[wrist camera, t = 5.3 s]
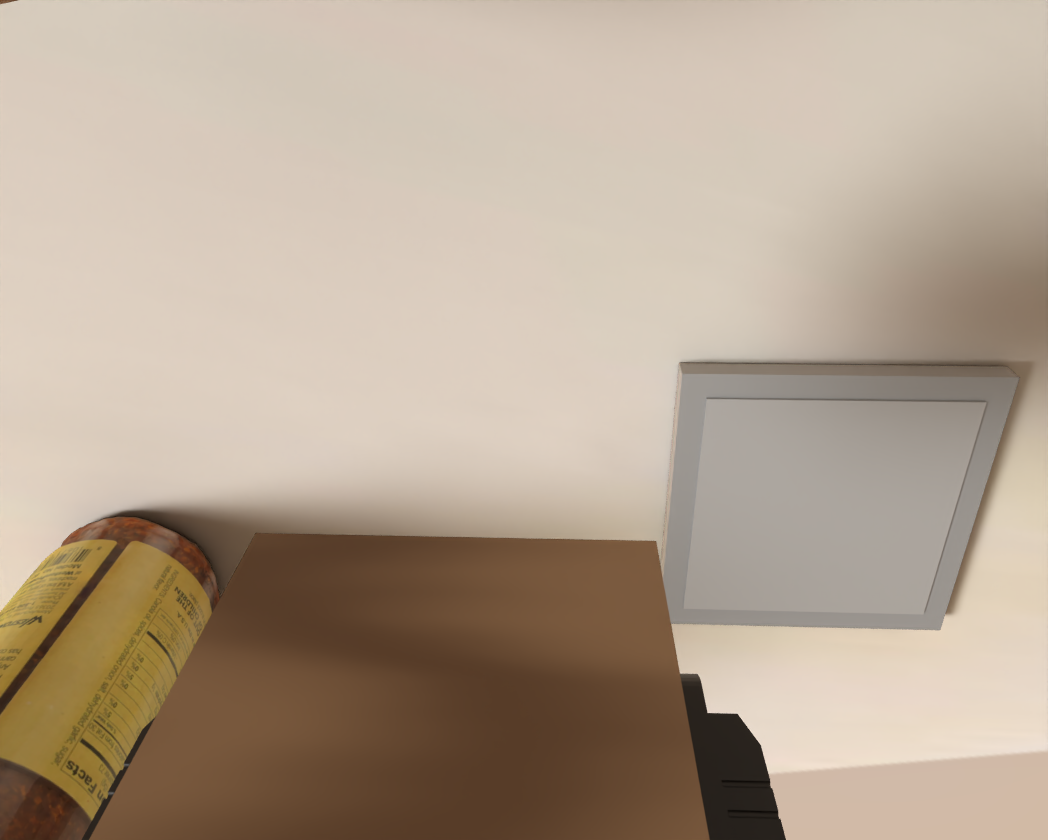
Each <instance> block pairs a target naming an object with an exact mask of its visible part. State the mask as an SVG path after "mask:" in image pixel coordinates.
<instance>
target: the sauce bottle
mask: <svg viewBox="0 0 1048 840" xmlns="http://www.w3.org/2000/svg"><path fill="white" fill-rule="evenodd" d="M218 601H219V592H218V586H217V582H216V577H215V574H214V573H213V570H212V569H211V564H210V562H209V561H208V560H207V559H206V557H205V556H204V554H203V553H202V551H201V550H200V549H199V547H198V546H197V545H196V543H193V542H191V541H189V540H188V539H186V538H185V537H183V536H181V535H179V534H178V533H176V532H174V531H172V530H170V529H167V528H164V527H162V526H161V525H158V524H156V523H153V522H150V521H148V520H145V519H140V518H137V517H126V516H125V517H113V518H105V519H103V520H101V521H97V522H93V523H90V524H87V525H86V526H84V527H82V528H79V529H78V530H76V531H74V532H73V533H71V534H70V535H69V536H68V537H67V538H66V539H65V540H64V541H63V543H62V545H61V547H60V548H59V549H57V550H55V551H54V552H53V553H52V554H51V555H49V556H48V557H47V558H46V559H45V560H44V561H43V562H42V563H41V564H40V565H39V567H38V568H37V569H36V570H35V571H34V572H33V574H32V575H31V576H30V577H29V578H28V579H27V581H26V582H25V583H24V584H23V585H22V587H21V588H20V589H19V590H18V591H17V593H16V594H15V595H14V596H13V597H12V599H11V600H10V601H9V602H8V604H7V605H6V606H5V607H4V608H3V610H2V611H1V612H0V840H82V838H83V836H84V834H85V832H86V831H87V829H88V827H89V825H90V823H91V821H92V820H93V818H94V816H95V814H96V812H97V811H98V809H99V807H100V805H101V803H102V802H103V800H104V799H107V797H108V791H109V789H110V787H111V785H112V783H113V782H114V780H115V778H116V776H117V774H118V773H119V771H120V770H123V768H124V762H125V760H126V758H127V756H128V755H129V753H130V751H131V749H132V747H133V745H134V744H135V742H136V740H137V738H138V736H139V735H140V733H141V731H142V729H143V728H144V727H145V726H146V725H147V724H148V723H149V722H150V721H152V720H153V719H154V718H155V717H156V716H157V714H158V712H159V710H160V708H161V706H162V705H163V703H164V701H165V699H166V697H167V695H168V693H169V692H170V690H171V688H172V686H173V684H174V682H175V681H176V679H177V677H178V675H179V673H180V671H181V670H182V668H183V666H184V664H185V662H186V660H187V659H188V657H189V655H190V653H191V651H192V649H193V647H194V646H195V644H196V642H197V640H198V638H199V636H200V635H201V633H202V631H203V629H204V627H205V625H206V624H207V622H208V620H209V618H210V616H211V614H212V613H213V611H214V609H215V607H216V605H217V603H218Z"/></svg>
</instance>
